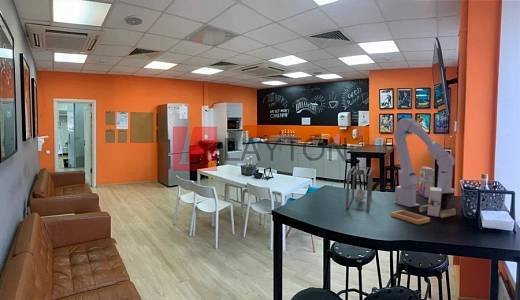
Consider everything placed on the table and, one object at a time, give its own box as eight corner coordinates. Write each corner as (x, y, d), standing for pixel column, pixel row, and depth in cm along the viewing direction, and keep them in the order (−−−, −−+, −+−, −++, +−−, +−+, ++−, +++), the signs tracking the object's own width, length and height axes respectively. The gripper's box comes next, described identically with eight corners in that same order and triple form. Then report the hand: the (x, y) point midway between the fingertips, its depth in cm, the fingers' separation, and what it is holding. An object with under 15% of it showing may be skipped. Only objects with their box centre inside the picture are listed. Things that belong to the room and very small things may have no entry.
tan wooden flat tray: (391, 216, 139) (391, 212, 139) (402, 213, 143) (402, 210, 143) (418, 224, 128) (418, 220, 128) (429, 222, 132) (430, 217, 132)
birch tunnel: (419, 211, 148) (419, 206, 148) (432, 208, 153) (433, 203, 153) (442, 217, 139) (442, 212, 138) (455, 214, 144) (456, 209, 144)
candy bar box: (417, 193, 187) (419, 166, 186) (426, 193, 186) (428, 166, 185) (423, 197, 176) (425, 169, 175) (433, 198, 175) (435, 169, 174)
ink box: (428, 210, 149) (429, 186, 148) (440, 212, 147) (442, 187, 146) (427, 215, 142) (428, 189, 141) (439, 217, 140) (441, 191, 138)
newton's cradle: (368, 212, 145) (370, 174, 143) (345, 209, 149) (347, 173, 147) (371, 198, 173) (373, 166, 171) (352, 196, 177) (353, 165, 175)
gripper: (444, 183, 140) (442, 213, 141) (462, 180, 147) (459, 209, 148) (429, 180, 146) (427, 209, 147) (446, 178, 153) (444, 205, 154)
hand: (442, 208), depth 148 cm, fingers closed
